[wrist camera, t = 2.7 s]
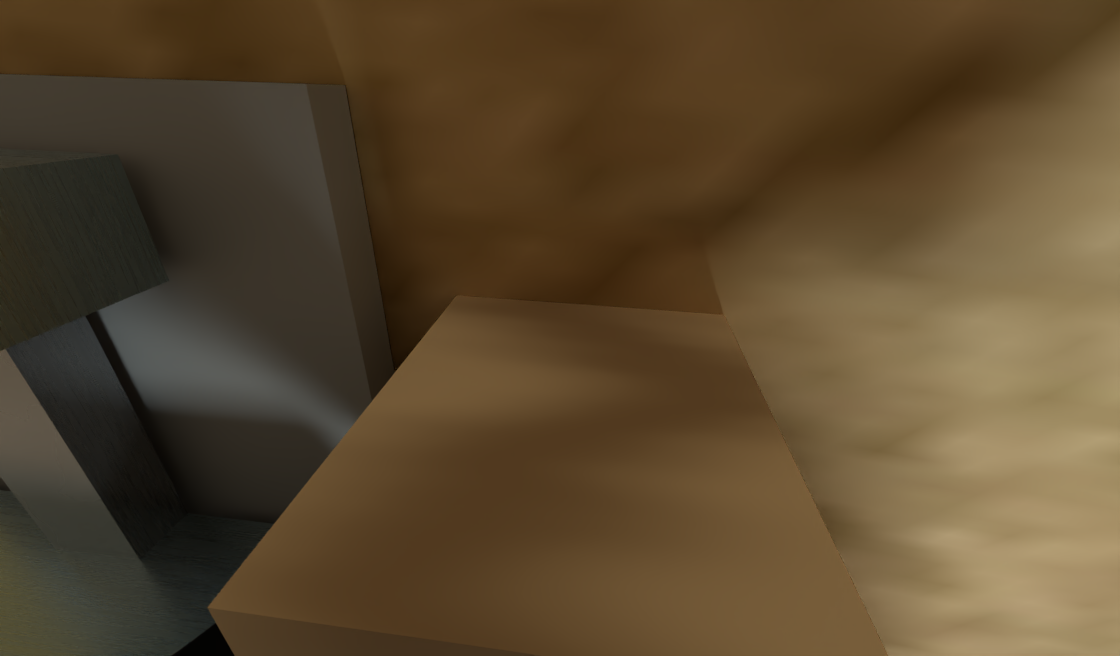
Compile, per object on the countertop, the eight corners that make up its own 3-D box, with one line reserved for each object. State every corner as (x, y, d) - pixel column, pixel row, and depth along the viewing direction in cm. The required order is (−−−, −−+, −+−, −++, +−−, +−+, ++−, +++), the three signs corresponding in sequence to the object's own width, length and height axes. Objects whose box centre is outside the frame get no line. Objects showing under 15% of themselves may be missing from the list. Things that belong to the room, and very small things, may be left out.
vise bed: (344, 84, 7) (-7, 74, 3) (460, 755, 18) (416, 939, 14) (-289, 65, 8) (-1164, 36, 4) (188, 710, 19) (77, 870, 15)
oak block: (722, 312, 8) (915, 709, 3) (669, 558, 11) (713, 955, 6) (457, 293, 9) (206, 606, 3) (478, 535, 12) (367, 887, 7)
